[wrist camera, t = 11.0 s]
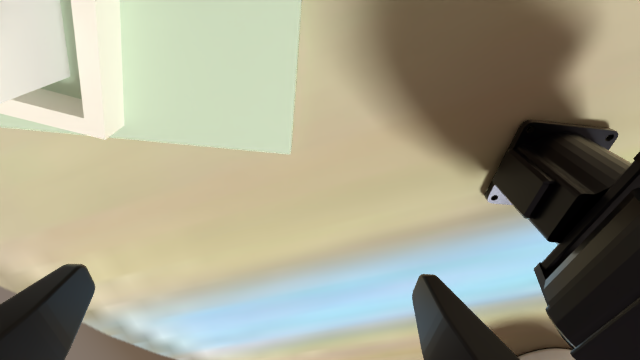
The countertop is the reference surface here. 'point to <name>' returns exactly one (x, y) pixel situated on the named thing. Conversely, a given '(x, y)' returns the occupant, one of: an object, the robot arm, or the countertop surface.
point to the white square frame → (84, 78)
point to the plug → (31, 46)
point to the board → (199, 73)
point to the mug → (548, 355)
